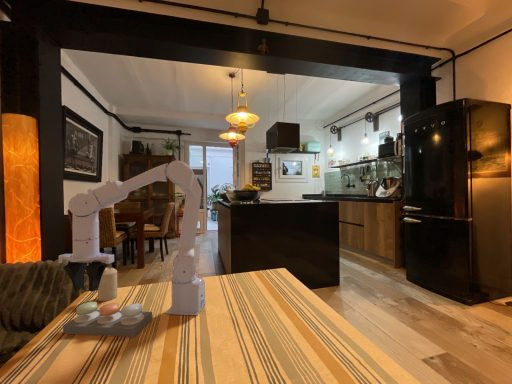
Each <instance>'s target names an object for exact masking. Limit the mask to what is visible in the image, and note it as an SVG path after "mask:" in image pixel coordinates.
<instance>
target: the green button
mask: <svg viewBox="0 0 512 384" xmlns="http://www.w3.org/2000/svg"><path fill="white" fill-rule="evenodd" d="M96 310H98V303H97V302H96V301H88V302H84V303H82V304H80V305H77V307H76V315H77V316H79V315H87V314H90V313H92V312H94V311H96Z"/></svg>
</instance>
